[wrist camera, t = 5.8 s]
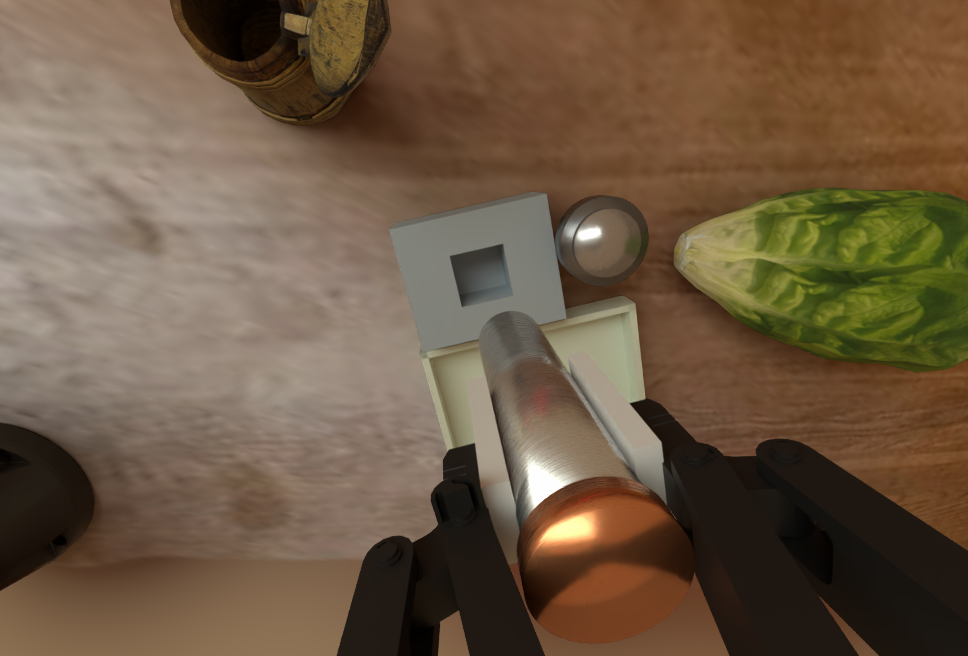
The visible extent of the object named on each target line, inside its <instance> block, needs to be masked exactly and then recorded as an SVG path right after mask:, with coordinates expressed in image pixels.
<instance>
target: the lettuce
mask: <svg viewBox="0 0 968 656" xmlns="http://www.w3.org/2000/svg"><path fill="white" fill-rule="evenodd" d="M674 267H675V268H676V269H677V270H678V271H679V272H680V273H681V274H682V275H683V276H684V277H685V278H686V279H687V280H688V281H689V282H690V283H691V284H693V285H694V286H695V287H696V288H697V289H699V290H700V291H702V292H703V293H705V294H706V295H707V296H709V297H710V298H712V299H713V300H715V301H716V302H718V303H719V304H720V305H721V306H722V307H723V308H724V309H725V310H726V311H728V312H729V313H730V314H731V315H732V316H733V317H734V318H736V319H738V320H739V321H741V322H742V323H744V324H745V325H747V326H748V327H750V328H751V329H753V330H755V331H757V332H759V333H762V334H764V335H766V336H768V337H770V338H772V339H775V340H778V341H781V342H784V343H787V344H790V345H793V346H795V347H798V348H800V349H802V350H804V351H807V352H809V353H811V354H813V355H816V356H818V357H820V358H824V359H831V360H839V361H846V362H856V363H873V364H885V365H889V366H893V367H897V368H900V369H904V370H908V371H912V372H926V371H935V370H945V369H948V368H951V367H953V366H955V365H957V364H959V363H961V362H963V361H966V360H968V202H967V201H965V200H962V199H960V198H958V197H955V196H953V195H951V194H948V193H940V192H930V191H920V190H869V191H868V190H856V189H845V188H812V189H806V190H800V191H795V192H790V193H785V194H782V195H778V196H775V197H771V198H768V199H765V200H761V201H759V202H757V203H755V204H752V205H750V206H748V207H745V208H743V209H741V210H738V211H735V212H732V213H729V214H726V215H723V216H719V217H716V218H713V219H710V220H708V221H706V222H704V223H701V224H699V225H697V226H695V227H693V228H691V229H690V230H688V231H686V232H684V233H683V234H681V236H680V237H679V239H678V242H677V244H676V246H675V249H674Z"/></svg>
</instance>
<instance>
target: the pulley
mask: <svg viewBox="0 0 968 656" xmlns="http://www.w3.org/2000/svg"><path fill="white" fill-rule="evenodd" d="M647 246H648V228H647V224H646V221H645V219H644V217H643V215H642V213H641V212H640V211H639V210H638V208H637V207H636V206H634V205H633V204H632V203H630V202H629V201H627V200H625V199H622V198H619V197H613V196H605V195H596V196H590V197H587V198H584V199H582V200H580V201H579V202H577V203H575V204H574V205H573V206H572V207H570V208H569V209H568V211H567V212H566V213H565V214H564V216H563V217H562V219H561V221H560V223H559V225H558V228H557V231H556V237H555V248H556V253H557V256H558V259H559V261H560V263H561V264H562V266H563V267H564V268H565V269H566V270H567V271H568V272H569V273H570V274H571V275H573V276H574V277H575V278H577V279H578V280H580V281H581V282H583V283H586V284H588V285H592V286H609V285H613V284H616V283H618V282H621V281H622V280H624V279H626V278H627V277H629V276H630V275H631V274H632V273H633V272H634V271H635V270H636V269H637V268H638V266H639V265H640V263H641V262H642V260H643V258H644V256H645V253H646V250H647Z"/></svg>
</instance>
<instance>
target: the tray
mask: <svg viewBox="0 0 968 656" xmlns="http://www.w3.org/2000/svg"><path fill="white" fill-rule="evenodd" d="M565 311H566V317H567V318H566V319H562V320H558V321H554V322H549V323H545V324H541V325H538V326H539V327H540V329H541V330H542V332H543V333H544V335H545V336H546V338H547V339H548V341H549V342H550V344H551V345H552V347H553V349H554V350H555V352H556V353H557V355H558V356H559V358H560V359H561V361H562V362H563V364H564V365H565V367H566V368H567V370H568V371H569V373H570V368H569V362H568V357H567V355H571V354H575V353H579V352H583V351H586V352H587V353H588V354H589V355H590V356H591V358H592V359H593V360H594V361H595V363H596V364H597V365H598V366H599V367H600V369H601V370H602V371H603V372H604V373H605V375H606V376H607V377H608V378H609V379H610V381H611V382H612V383H613V384H614V386H615V387H616V388H617V389H618V390H619V392H620V393H621V394H622V395H623V396H624V398H625V399H626V400H627V401H628V402H629V403H632V402H636V401H640V400H644V399H645V390H644V380H643V371H642V362H641V352H640V343H639V334H638V324H637V315H636V306H635V303H634V302H632V301H631V300H629V299H628V298H626V297H625V296H623V295H622V296H618V297H614V298H610V299H605V300H601V301H597V302H592V303H588V304H584V305H580V306H575V307H571V308H567V309H565ZM478 341H479V339H477V340H472V341H468V342H464V343H460V344H455V345H451V346H447V347H442V348H438V349H434V350H430V351H425V352H423V349H422V346H421V349H420V356H421V359H422V363H423V366H424V370H425V373H426V377H427V380H428V384H429V387H430V391H431V394H432V398H433V401H434V405H435V408H436V412H437V416H438V419H439V423H440V426H441V430H442V433H443V437H444V440H445V444H446V447H447V451H448V450H449V449H453V448H457V447H461V446H465V445H469V444H473V443H475V439H474V431H473V424H472V416H471V408H470V401H469V393H468V385H467V380H470V379H474V378H478V377H482V376H485V373H484V369H483V364H482V360H481V355H480V351H479V344H478ZM570 375H571V373H570Z"/></svg>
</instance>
